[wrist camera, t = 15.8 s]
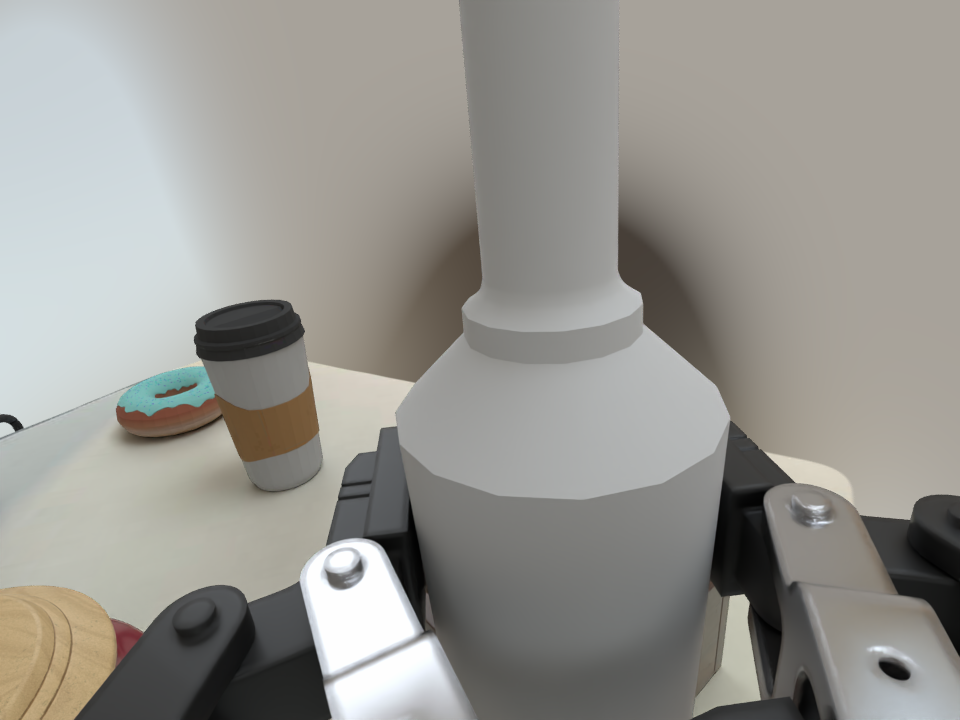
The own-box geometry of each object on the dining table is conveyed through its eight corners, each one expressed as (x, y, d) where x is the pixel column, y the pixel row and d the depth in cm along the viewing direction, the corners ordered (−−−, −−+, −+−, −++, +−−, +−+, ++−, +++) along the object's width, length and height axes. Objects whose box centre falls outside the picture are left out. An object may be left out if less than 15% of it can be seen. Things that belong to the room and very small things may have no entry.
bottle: (537, 1134, 12) (276, -892, 3) (456, 871, 17) (248, -228, 7) (718, 993, 14) (983, -546, 4) (600, 789, 18) (596, -189, 9)
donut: (235, 428, 58) (225, 394, 57) (109, 455, 55) (94, 420, 54) (244, 383, 69) (235, 353, 67) (138, 404, 66) (126, 374, 64)
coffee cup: (352, 465, 50) (318, 307, 44) (265, 514, 44) (212, 341, 38) (306, 436, 55) (269, 292, 49) (223, 476, 50) (171, 320, 44)
